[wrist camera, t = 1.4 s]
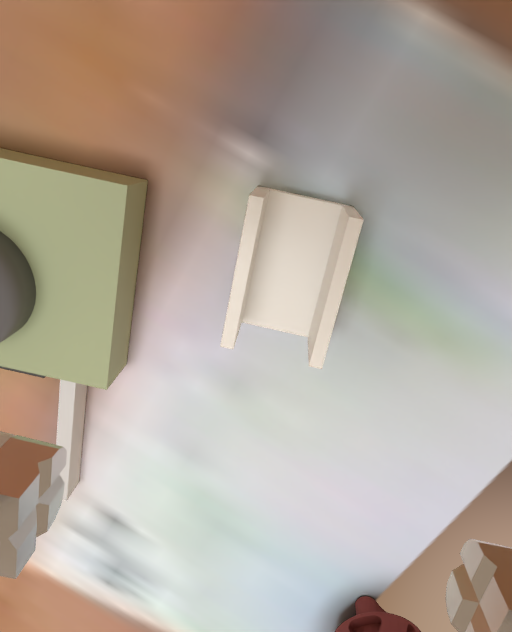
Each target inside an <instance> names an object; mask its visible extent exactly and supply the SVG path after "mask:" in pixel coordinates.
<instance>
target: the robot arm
mask: <svg viewBox="0 0 512 632" xmlns="http://www.w3.org/2000/svg"><path fill="white" fill-rule="evenodd" d="M66 457H67V450H66V449H65V448H64V447H62V446H58V445H54V444H50V443H46V442H42V441H38V440H34V439H30V438H26V437H22V436H18V435H16V436H15V435H13V434H9V433H5V432H1V431H0V576H3V577H8V578H13V579H16V578H17V576H18V575H19V573H20V572H21V570H22V569H23V567H24V566H25V564H26V563H27V561H28V560H29V558H30V557H31V555H32V554H33V552H34V551H35V545H36V537H38V536H40V535H41V534H43V533H45V532H47V531H48V530H49V528H50V526H51V525H52V523H53V522H54V520H55V518H56V515H57V513H58V511H59V508H60V506H61V502H62V498H63V494H64V485H65V483H64V481H63V479H62V478H61V476H60V475H59V474H60V472H61V471H62V470H63V468H64V467H65V466H66ZM460 555H461V557H462V560H463V562H464V564H463V565H461V566H459V567H457V568H456V569H454V570H453V571H452V573H451V575H450V578H449V580H448V583H447V590H446V605H447V612H448V615H449V618H450V621H451V624H452V625H453V626H454V627H455V628H456V629H457V631H458V632H512V548H511V547H506V546H501V545H497V544H492V543H488V542H483V541H479V540H474V539H469V540H468V541H467V542H466V543H465V544H464V546H463V548H462V550H461V553H460Z"/></svg>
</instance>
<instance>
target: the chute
mask: <svg viewBox="0 0 512 632" xmlns="http://www.w3.org/2000/svg"><path fill="white" fill-rule="evenodd" d="M362 224H363V218H362V217H361V216H360V215H359V213H358V212H357V211H356V209H355V208H354V207H353V206H349V205H345V204H340V203H336V202H331V201H326V200H322V199H317V198H313V197H308V196H303V195H299V194H294V193H290V192H285V191H280V190H276V189H271V188H267V187H262V186H257V187H256V188H255V189H254V190H253V192H252V193H251V194H250V195H249V199H248V204H247V209H246V215H245V220H244V225H243V230H242V235H241V241H240V246H239V251H238V256H237V262H236V267H235V272H234V277H233V282H232V288H231V293H230V298H229V303H228V309H227V314H226V319H225V324H224V329H223V335H222V340H221V345H220V347H225V348H229V349H233V348H234V345H235V342H236V339H237V336H238V333H239V330H240V327H241V323H246V324H251V325H256V326H260V327H265V328H269V329H274V330H278V331H283V332H287V333H292V334H296V335H301V336H305V337H308V356H309V366H310V367H315V368H319V369H322V366H323V363H324V359H325V356H326V352H327V349H328V345H329V342H330V338H331V334H332V331H333V327H334V324H335V320H336V317H337V313H338V309H339V306H340V302H341V299H342V295H343V292H344V288H345V285H346V281H347V277H348V274H349V270H350V267H351V263H352V260H353V256H354V252H355V249H356V245H357V242H358V238H359V235H360V231H361V228H362Z"/></svg>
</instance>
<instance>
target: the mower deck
mask: <svg viewBox="0 0 512 632" xmlns="http://www.w3.org/2000/svg"><path fill="white" fill-rule="evenodd" d="M147 185H148V180H145V179H140V178H136V177H131V176H127V175H122V174H117V173H113V172H108V171H104V170H99V169H94V168H90V167H85V166H81V165H76V164H71V163H67V162H62V161H58V160H53V159H48V158H44V157H39V156H35V155H30V154H25V153H21V152H16V151H12V150H7V149H3V148H0V368H2V369H7V370H11V371H16V372H20V373H24V374H29V375H33V376H38V377H42V378H45V377H46V376H47V377H51V378H56V379H60V392H59V408H58V424H57V440H56V445H58V446H62V447H64V448H65V449H66V450H67V457H66V466H65V467H64V468H63V470H62V471H61V472H60V474H59V475H60V476H61V478H62V479H63V481H64V483H65V485H64V494H63V498H62V500H66V501H67V500H68V498H69V497H70V495H71V493H72V492H73V490H74V489H75V487H76V486H77V484H78V483H79V477H80V466H81V454H82V442H83V430H84V419H85V407H86V395H87V386H92V387H96V388H101V389H105V390H107V389H108V387H109V386H110V385H111V384H112V382H113V381H114V380H115V378H116V377H117V376H118V375H119V373H120V372H121V371H122V369H123V368H124V367H125V366H126V364H127V356H128V348H129V339H130V331H131V322H132V313H133V305H134V296H135V288H136V279H137V271H138V262H139V253H140V245H141V236H142V228H143V219H144V210H145V202H146V193H147Z"/></svg>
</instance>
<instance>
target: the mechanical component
mask: <svg viewBox="0 0 512 632" xmlns="http://www.w3.org/2000/svg"><path fill="white" fill-rule="evenodd" d="M355 609H356V616H353V617H351V618H349V619H347V620H346V621H344V622H343V623H342V624H341V625H340V626H339V627H338V628H337V629H336V631H335V632H421V631H420V630H419V629H418V628H417V627H416V626H415V625H414V624H413V623H411V622H410V621H409V620H407V619H405V618H403V617H400V616H397V615H394V614H390V613H386V612H385V611H384V610H383V609H382V608H381V607H380V606H379V605H378V603H377V602H376V601H375V600H374V599H373V598H371V597H368V596H363V597H360V598H359V599H357V600H356V602H355Z"/></svg>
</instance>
